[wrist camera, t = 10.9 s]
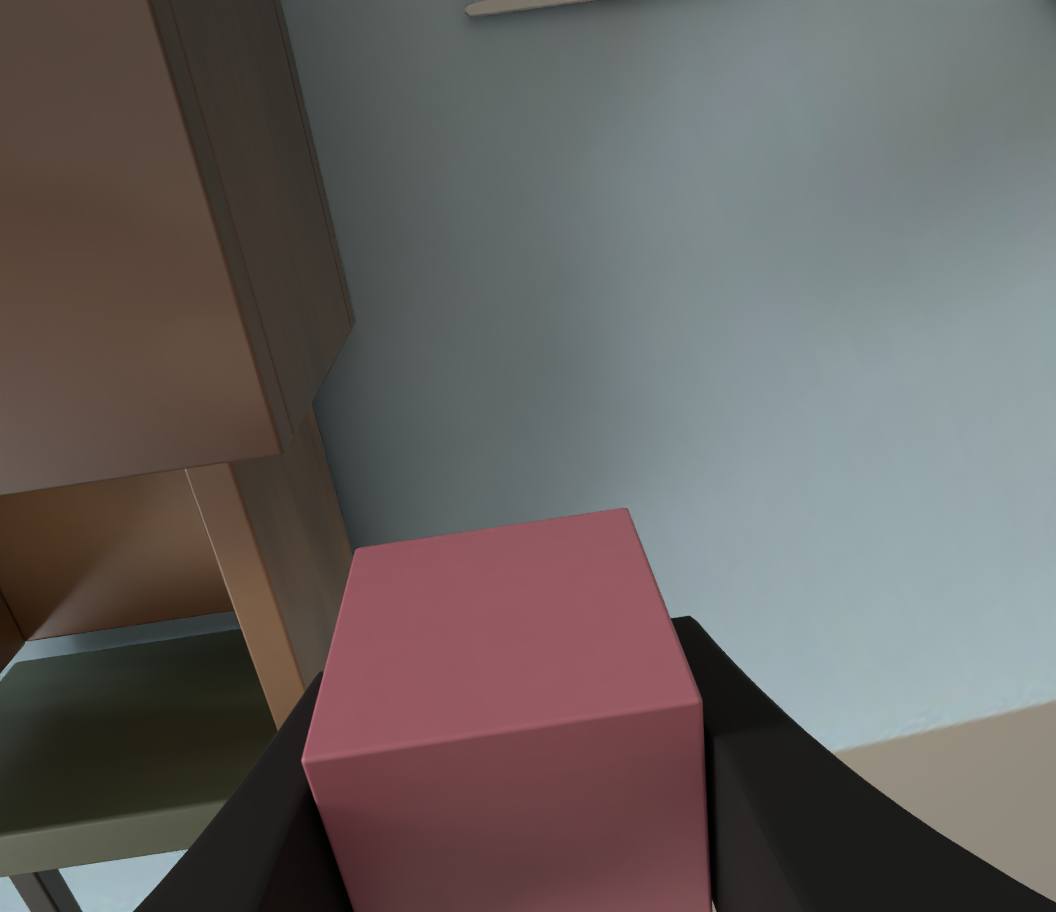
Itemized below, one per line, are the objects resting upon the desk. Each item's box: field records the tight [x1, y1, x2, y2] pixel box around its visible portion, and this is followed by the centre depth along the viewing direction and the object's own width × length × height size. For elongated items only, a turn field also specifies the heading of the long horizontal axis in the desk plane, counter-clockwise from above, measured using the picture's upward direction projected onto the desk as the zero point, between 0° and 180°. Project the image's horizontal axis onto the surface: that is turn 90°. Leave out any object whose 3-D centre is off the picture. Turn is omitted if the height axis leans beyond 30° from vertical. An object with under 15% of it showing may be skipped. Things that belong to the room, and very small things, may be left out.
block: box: [301, 508, 712, 912], centre depth 11 cm, size 4×4×4 cm
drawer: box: [0, 403, 353, 912], centre depth 17 cm, size 17×10×6 cm, turn 8°
